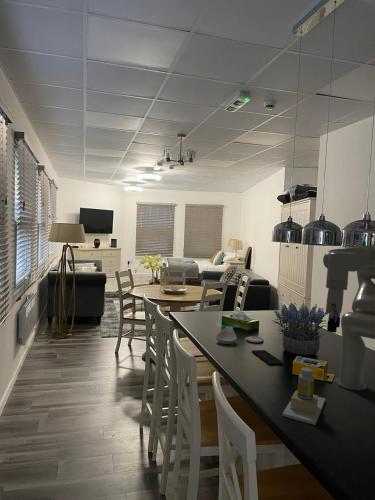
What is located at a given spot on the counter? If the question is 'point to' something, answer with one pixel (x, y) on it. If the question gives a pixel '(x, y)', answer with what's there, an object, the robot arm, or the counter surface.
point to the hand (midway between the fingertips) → (333, 329)
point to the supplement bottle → (306, 383)
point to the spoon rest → (226, 336)
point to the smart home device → (267, 357)
